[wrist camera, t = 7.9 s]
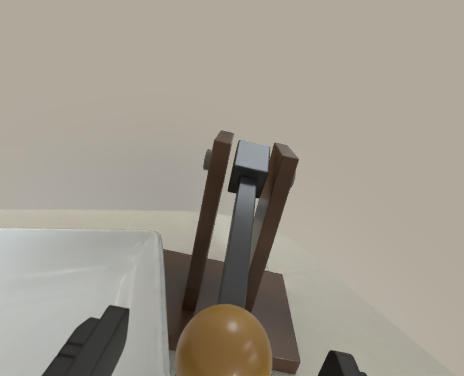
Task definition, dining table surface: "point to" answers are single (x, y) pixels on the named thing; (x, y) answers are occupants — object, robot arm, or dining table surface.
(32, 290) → the square plate
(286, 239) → the dining table surface
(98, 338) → the robot arm
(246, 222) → the lever
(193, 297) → the latch bracket
